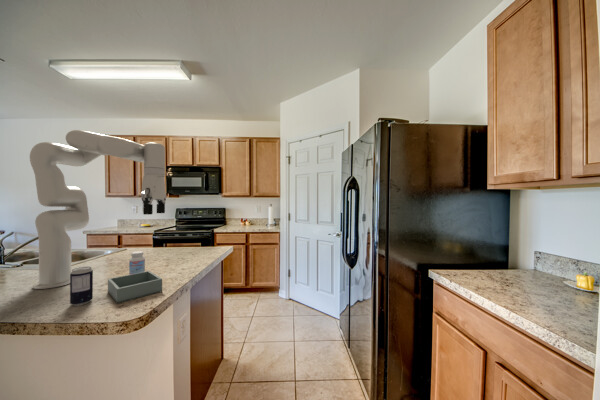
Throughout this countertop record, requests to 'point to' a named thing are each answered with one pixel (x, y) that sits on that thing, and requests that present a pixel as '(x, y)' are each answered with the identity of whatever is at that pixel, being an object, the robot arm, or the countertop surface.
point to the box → (134, 286)
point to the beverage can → (81, 286)
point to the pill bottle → (136, 263)
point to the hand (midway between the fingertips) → (154, 213)
